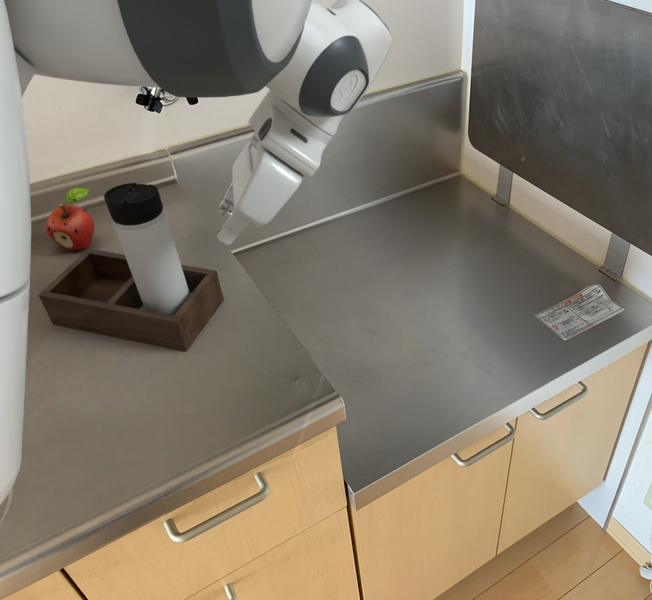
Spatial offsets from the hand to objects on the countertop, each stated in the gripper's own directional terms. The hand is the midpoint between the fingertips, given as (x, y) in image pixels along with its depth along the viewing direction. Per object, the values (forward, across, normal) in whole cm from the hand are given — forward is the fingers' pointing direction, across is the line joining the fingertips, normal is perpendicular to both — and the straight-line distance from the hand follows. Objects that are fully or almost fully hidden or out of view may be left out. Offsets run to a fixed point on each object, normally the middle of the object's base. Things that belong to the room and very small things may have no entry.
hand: (222, 226), depth 74 cm
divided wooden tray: (+21, -12, 0) cm, 24 cm away
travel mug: (+18, -9, +3) cm, 20 cm away
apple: (+25, -31, -11) cm, 41 cm away
